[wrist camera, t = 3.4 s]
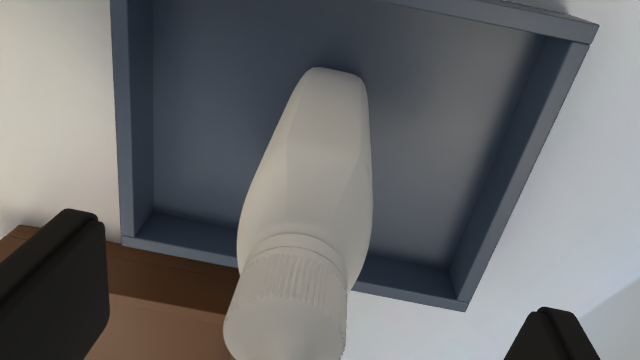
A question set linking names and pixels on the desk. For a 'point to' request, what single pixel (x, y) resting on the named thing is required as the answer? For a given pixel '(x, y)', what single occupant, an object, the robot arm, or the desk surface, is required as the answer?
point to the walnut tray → (157, 304)
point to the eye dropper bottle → (305, 225)
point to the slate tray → (384, 119)
